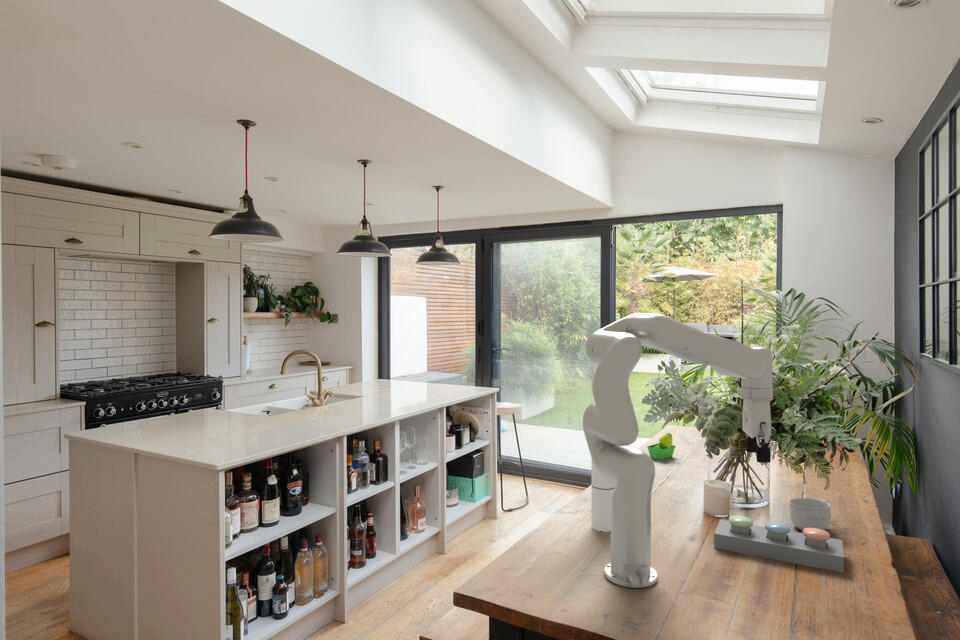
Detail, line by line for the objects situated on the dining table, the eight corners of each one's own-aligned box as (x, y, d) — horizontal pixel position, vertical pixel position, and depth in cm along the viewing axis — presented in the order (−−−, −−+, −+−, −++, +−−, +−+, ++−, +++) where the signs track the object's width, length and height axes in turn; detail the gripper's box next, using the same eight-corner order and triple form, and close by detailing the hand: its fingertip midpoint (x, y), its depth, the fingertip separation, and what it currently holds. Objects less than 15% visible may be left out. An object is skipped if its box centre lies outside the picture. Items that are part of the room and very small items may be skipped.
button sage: (753, 532, 161) (753, 517, 161) (751, 539, 156) (751, 525, 155) (730, 528, 164) (730, 514, 164) (727, 535, 159) (727, 521, 158)
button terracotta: (829, 545, 152) (829, 530, 152) (829, 554, 146) (829, 538, 146) (802, 540, 155) (803, 526, 155) (802, 549, 149) (802, 533, 149)
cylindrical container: (588, 529, 171) (588, 445, 170) (595, 521, 177) (595, 440, 176) (612, 533, 167) (612, 448, 167) (618, 525, 174) (618, 442, 173)
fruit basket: (661, 453, 257) (661, 428, 257) (679, 457, 250) (679, 431, 250) (646, 458, 250) (646, 432, 250) (664, 462, 243) (664, 435, 243)
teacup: (809, 538, 164) (809, 510, 164) (780, 524, 174) (780, 497, 174) (848, 532, 168) (848, 505, 168) (817, 519, 178) (817, 493, 178)
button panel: (842, 554, 153) (842, 540, 153) (843, 573, 142) (844, 557, 142) (720, 532, 168) (720, 519, 168) (714, 547, 158) (714, 533, 157)
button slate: (790, 538, 156) (790, 524, 156) (789, 546, 151) (789, 531, 151) (765, 534, 159) (765, 519, 159) (763, 542, 154) (764, 527, 154)
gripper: (733, 388, 163) (734, 448, 163) (751, 399, 146) (752, 466, 146) (762, 388, 161) (763, 448, 162) (783, 399, 144) (784, 466, 145)
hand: (758, 456), depth 154 cm, fingers open, 9 cm apart
